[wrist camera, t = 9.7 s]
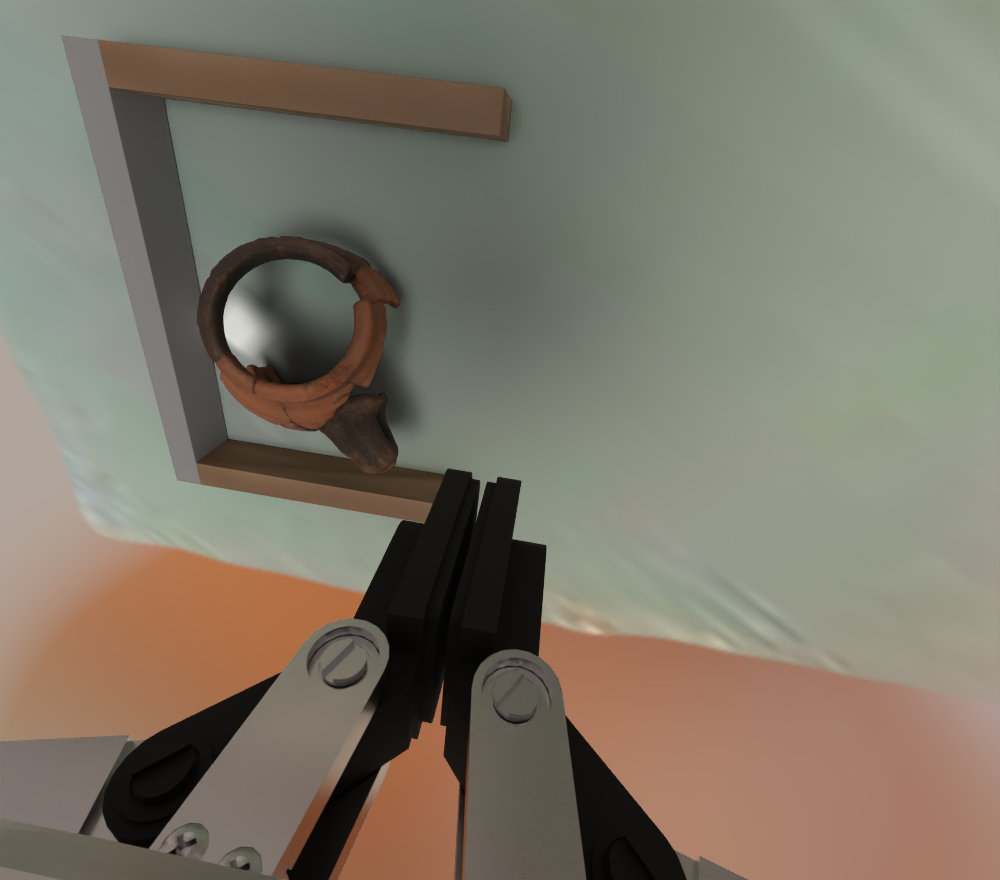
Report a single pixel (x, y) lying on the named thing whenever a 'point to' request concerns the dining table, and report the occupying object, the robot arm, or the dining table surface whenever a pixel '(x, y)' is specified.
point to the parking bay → (168, 253)
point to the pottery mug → (326, 398)
